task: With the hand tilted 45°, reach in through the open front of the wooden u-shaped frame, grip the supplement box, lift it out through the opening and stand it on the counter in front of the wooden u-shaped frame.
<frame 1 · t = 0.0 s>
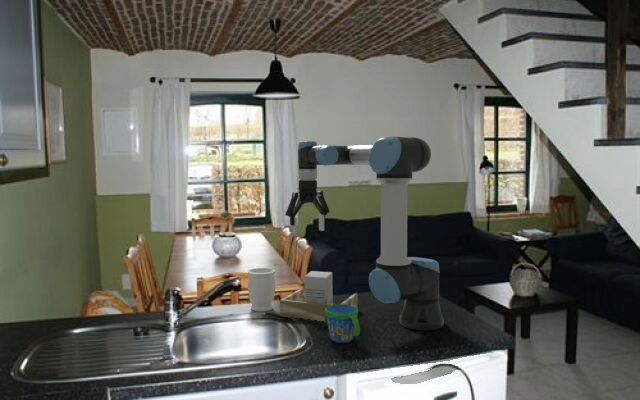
hand: (308, 232, 209), 28 cm above the worktop, tool pointing down, fingers open, 13 cm apart
snack cup: (341, 340, 165), on the worktop
supplement box: (318, 313, 193), resting in wooden u-shaped frame
wooden u-shaped frame: (318, 312, 193), on the worktop
jar: (262, 309, 199), on the worktop
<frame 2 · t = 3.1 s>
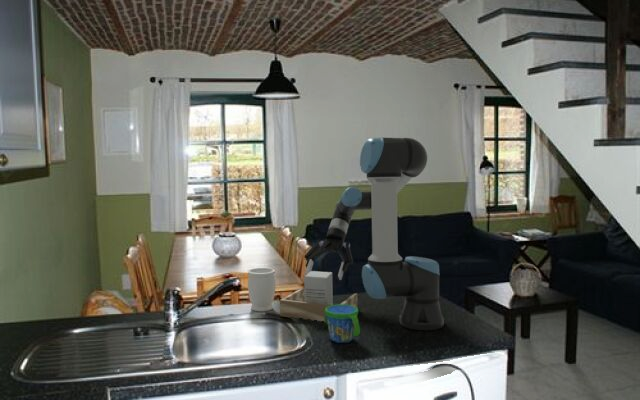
hand: (322, 276, 198), 12 cm above the worktop, tool tilted 45°, fingers open, 13 cm apart
nothing on the worktop moved.
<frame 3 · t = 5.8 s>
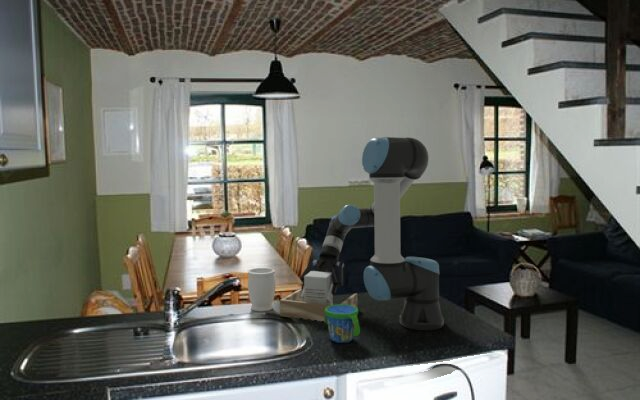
hand: (315, 299, 190), 6 cm above the worktop, tool tilted 45°, fingers closed on supplement box, 10 cm apart
supplement box: (318, 313, 193), resting in wooden u-shaped frame, touching gripper
everything else where it was.
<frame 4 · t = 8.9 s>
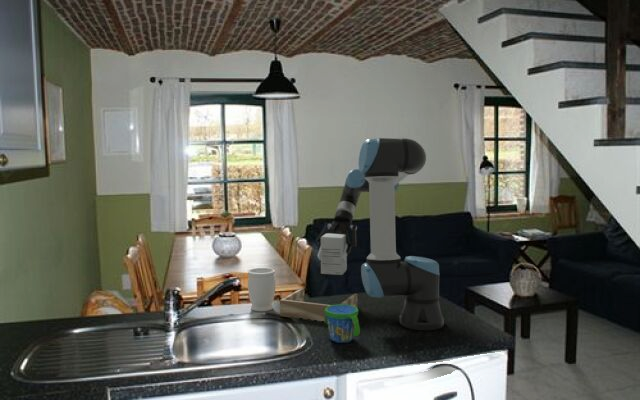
hand: (331, 258, 204), 18 cm above the worktop, tool tilted 45°, fingers closed on supplement box, 10 cm apart
supplement box: (333, 272, 207), point 12 cm above the worktop, touching gripper
everything else where it was.
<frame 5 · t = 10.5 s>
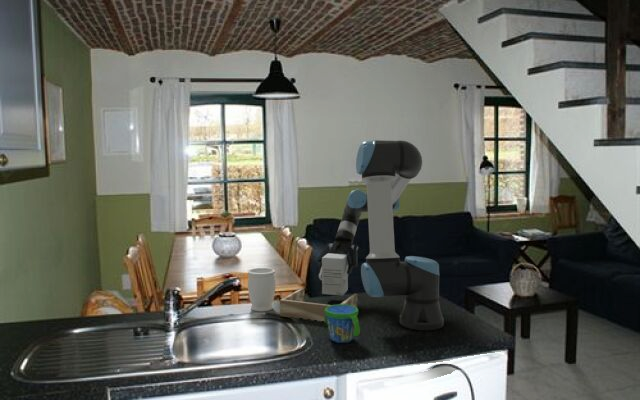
hand: (332, 279, 206), 10 cm above the worktop, tool tilted 45°, fingers closed on supplement box, 10 cm apart
supplement box: (335, 292, 209), point 3 cm above the worktop, touching gripper
everything else where it was.
when the fingers open (7 cm above the worktop, at t = 11.9 s): supplement box drops 1 cm, on the worktop.
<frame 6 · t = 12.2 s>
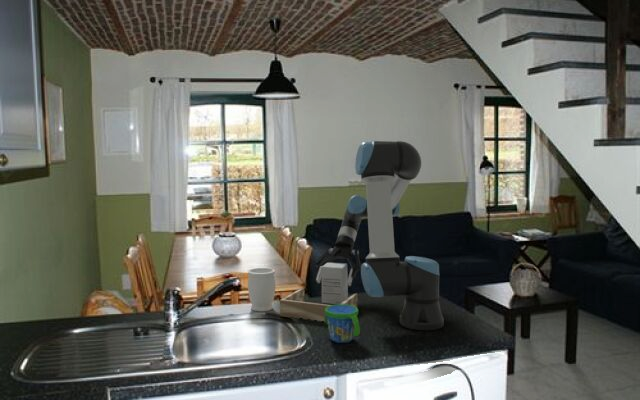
hand: (333, 282, 206), 8 cm above the worktop, tool tilted 45°, fingers open, 13 cm apart
supplement box: (334, 301, 209), on the worktop
everything else where it was.
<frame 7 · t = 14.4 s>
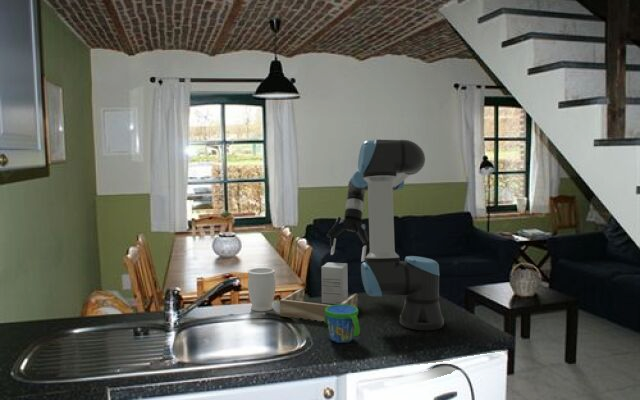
hand: (347, 257, 216), 16 cm above the worktop, tool tilted 30°, fingers open, 13 cm apart
nothing on the worktop moved.
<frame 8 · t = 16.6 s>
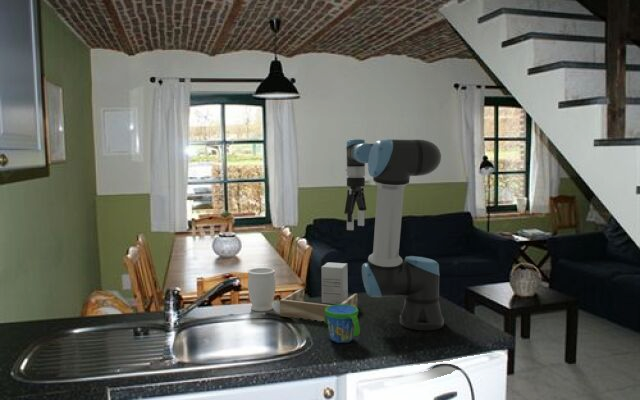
hand: (355, 227, 215), 29 cm above the worktop, tool pointing down, fingers open, 13 cm apart
nothing on the worktop moved.
at the end: supplement box inside the target area (1.6 cm from its centre), on the worktop; supplement box tilted 0°; the gripper is holding nothing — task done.
